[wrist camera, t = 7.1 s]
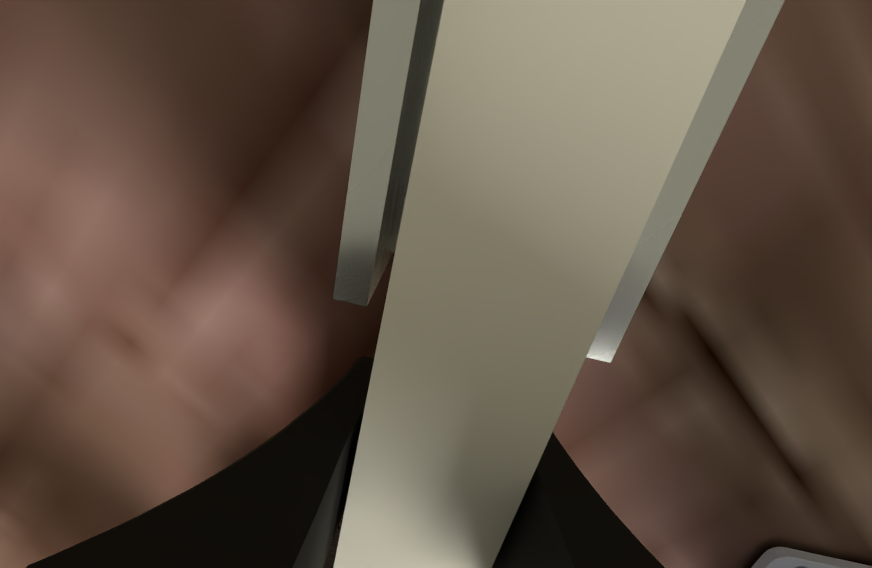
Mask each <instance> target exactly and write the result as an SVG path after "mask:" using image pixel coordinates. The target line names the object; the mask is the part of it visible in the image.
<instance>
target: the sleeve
mask: <svg viewBox="0 0 872 568" xmlns="http://www.w3.org/2000/svg"><path fill="white" fill-rule="evenodd" d="M784 1H785V0H746V2H745V4H744V6H743V8H742V11H741V13H740V15H739V17H738V20H737V22H736V24H735V26H734V28H733V31H732V33H731V35H730V37H729V40H728V42H727V44H726V46H725V49H724V51H723V53H722V55H721V57H720V60H719V62H718V64H717V66H716V69H715V71H714V73H713V75H712V78H711V80H710V82H709V84H708V86H707V89H706V91H705V93H704V95H703V98H702V100H701V102H700V104H699V106H698V109H697V111H696V113H695V115H694V118H693V120H692V122H691V124H690V127H689V129H688V131H687V133H686V135H685V138H684V140H683V142H682V144H681V147H680V149H679V151H678V153H677V156H676V158H675V160H674V162H673V164H672V167H671V169H670V171H669V173H668V176H667V178H666V180H665V182H664V184H663V187H662V189H661V191H660V193H659V196H658V198H657V200H656V202H655V205H654V207H653V209H652V211H651V213H650V216H649V218H648V220H647V222H646V225H645V227H644V229H643V231H642V234H641V236H640V238H639V240H638V242H637V245H636V247H635V249H634V251H633V254H632V256H631V258H630V260H629V262H628V265H627V267H626V269H625V271H624V274H623V276H622V278H621V280H620V283H619V285H618V287H617V289H616V291H615V294H614V296H613V298H612V300H611V303H610V305H609V307H608V309H607V312H606V314H605V316H604V318H603V320H602V323H601V325H600V327H599V329H598V332H597V334H596V336H595V338H594V340H593V343H592V345H591V347H590V349H589V352H588V354H587V356H586V357H588V358H592V359H596V360H601V361H605V362H609V363H611V361H612V358H613V356H614V354H615V352H616V350H617V348H618V346H619V344H620V342H621V340H622V338H623V336H624V334H625V331H626V329H627V327H628V325H629V323H630V321H631V319H632V317H633V315H634V313H635V311H636V309H637V307H638V304H639V302H640V300H641V298H642V296H643V294H644V292H645V290H646V288H647V286H648V284H649V282H650V280H651V277H652V275H653V273H654V271H655V269H656V267H657V265H658V263H659V261H660V259H661V257H662V255H663V252H664V250H665V248H666V246H667V244H668V242H669V240H670V238H671V236H672V234H673V232H674V230H675V228H676V225H677V223H678V221H679V219H680V217H681V215H682V213H683V211H684V209H685V207H686V205H687V203H688V201H689V198H690V196H691V194H692V192H693V190H694V188H695V186H696V184H697V182H698V180H699V178H700V176H701V174H702V171H703V169H704V167H705V165H706V163H707V161H708V159H709V157H710V155H711V153H712V151H713V149H714V147H715V144H716V142H717V140H718V138H719V136H720V134H721V132H722V130H723V128H724V126H725V124H726V122H727V119H728V117H729V115H730V113H731V111H732V109H733V107H734V105H735V103H736V101H737V99H738V97H739V95H740V92H741V90H742V88H743V86H744V84H745V82H746V80H747V78H748V76H749V74H750V72H751V70H752V68H753V65H754V63H755V61H756V59H757V57H758V55H759V53H760V51H761V49H762V47H763V45H764V43H765V41H766V38H767V36H768V34H769V32H770V30H771V28H772V26H773V24H774V22H775V20H776V18H777V16H778V14H779V11H780V9H781V7H782V5H783V3H784ZM443 4H444V0H373V6H372V14H371V21H370V28H369V36H368V43H367V50H366V58H365V65H364V73H363V80H362V87H361V95H360V102H359V109H358V117H357V124H356V131H355V139H354V146H353V154H352V161H351V168H350V176H349V183H348V190H347V198H346V205H345V212H344V220H343V227H342V235H341V242H340V249H339V257H338V264H337V271H336V279H335V286H334V293H333V299H336V300H340V301H344V302H349V303H353V304H357V305H362V306H366V307H367V305H368V303H369V301H370V299H371V297H372V295H373V293H374V291H375V289H376V287H377V285H378V283H379V281H380V279H381V277H382V275H383V273H384V271H385V269H386V267H387V265H388V263H389V261H390V259H391V257H392V255H393V253H394V252H395V250H396V245H397V240H398V234H399V229H400V224H401V219H402V214H403V209H404V204H405V199H406V194H407V188H408V183H409V178H410V173H411V168H412V163H413V158H414V153H415V147H416V142H417V137H418V132H419V127H420V122H421V117H422V112H423V106H424V101H425V96H426V91H427V86H428V81H429V76H430V71H431V66H432V60H433V55H434V50H435V45H436V40H437V35H438V30H439V25H440V19H441V14H442V9H443Z"/></svg>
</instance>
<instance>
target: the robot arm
mask: <svg viewBox="0 0 872 568" xmlns="http://www.w3.org/2000/svg"><path fill="white" fill-rule="evenodd" d="M373 362H374V359H373V358H369V357H364V356H362V357H361V358H359V359H357V361H356V362H355V363H354V364H353V366H352V367H351V368H350V369H349V370H348V371H347V372H346V373H345V374H344V375H343V376H342V377H341V379H340V380H339V381H338V382H337V383H336V384H335V385H334V386H333V387H331V388H330V389H329V390H328V391H327V392H326V393H325V394H324V395H323V396H322V397H321V398H320V399H318V400H317V401H316V402H315V403H314V404H313V405H312V406H311V407H310V408H308V409H307V410H306V411H305V412H303V413H302V414H301V415H300V416H298V417H297V418H296V419H295V420H294V421H292V422H291V423H290V424H289V425H287V426H286V427H285V428H284V429H282V430H281V431H280V432H278V433H277V434H276V435H274V436H273V437H272V438H270V439H269V440H267V441H266V442H265V443H263V444H262V445H260V446H259V447H257V448H256V449H254V450H253V451H251V452H250V453H249V454H247V455H246V456H244V457H242V458H241V459H239V460H238V461H236V462H234V463H233V464H231V465H230V466H228V467H226V468H225V469H223V470H222V471H220V472H218V473H217V474H215V475H213V476H212V477H210V478H208V479H207V480H205V481H203V482H201V483H200V484H198V485H196V486H194V487H193V488H191V489H189V490H187V491H185V492H183V493H181V494H179V495H177V496H176V497H174V498H172V499H170V500H168V501H166V502H164V503H162V504H160V505H158V506H157V507H155V508H153V509H151V510H149V511H147V512H145V513H143V514H141V515H139V516H137V517H135V518H133V519H131V520H129V521H127V522H125V523H123V524H121V525H119V526H117V527H114V528H112V529H110V530H108V531H106V532H103V533H101V534H99V535H97V536H94V537H92V538H90V539H88V540H85V541H83V542H81V543H79V544H76V545H74V546H72V547H70V548H68V549H65V550H63V551H61V552H59V553H56V554H54V555H52V556H50V557H47V558H45V559H42V560H40V561H38V562H35V563H33V564H30V565H28V566H27V567H26V568H323V566H324V563H325V560H326V557H327V555H328V552H329V549H330V546H331V544H332V541H333V538H334V536H335V533H336V530H337V528H338V525H339V523H340V520H341V517H342V515H343V512H344V510H345V506H346V501H347V496H348V490H349V485H350V480H351V475H352V470H353V465H354V460H355V455H356V450H357V444H358V439H359V434H360V429H361V424H362V419H363V414H364V409H365V403H366V398H367V393H368V388H369V383H370V378H371V373H372V368H373ZM492 568H665V567H664V566H663V565H662V564H661V563H660V562H659V561H658V560H657V559H656V558H655V557H654V556H653V555H652V554H651V553H650V552H649V551H648V550H647V549H646V548H645V547H644V546H643V545H642V544H641V543H640V541H639V540H638V539H637V538H636V537H635V536H634V535H633V534H632V533H631V531H630V530H629V529H628V528H627V527H626V526H625V525H624V524H623V523H622V521H621V520H620V519H619V518H618V517H617V516H616V515H615V514H614V512H613V511H612V510H611V509H610V508H609V506H608V505H607V504H606V503H605V502H604V501H603V499H602V498H601V497H600V496H599V494H598V493H597V492H596V490H595V489H594V488H593V487H592V485H591V484H590V483H589V482H588V480H587V479H586V478H585V477H584V475H583V474H582V473H581V471H580V470H579V469H578V467H577V466H576V465H575V463H574V462H573V460H572V459H571V458H570V456H569V455H568V454H567V452H566V451H565V449H564V448H563V446H562V445H561V444H560V442H559V441H558V439H557V438H556V436H555V435H554V433H553V432H552V434H551V436H550V439H549V441H548V443H547V445H546V447H545V450H544V452H543V454H542V456H541V459H540V461H539V463H538V465H537V468H536V470H535V472H534V474H533V476H532V479H531V481H530V483H529V485H528V488H527V490H526V492H525V494H524V496H523V499H522V501H521V503H520V505H519V508H518V510H517V512H516V514H515V517H514V519H513V521H512V523H511V525H510V528H509V530H508V532H507V534H506V537H505V539H504V541H503V543H502V546H501V548H500V550H499V552H498V554H497V557H496V559H495V561H494V563H493V566H492ZM751 568H872V566H869V565H864V564H860V563H855V562H851V561H846V560H841V559H837V558H832V557H828V556H823V555H818V554H814V553H809V552H805V551H800V550H796V549H791V548H786V547H773V548H771V549H768V550H767V551H766V552H764V553H763V554H762V556H761V557H760V558H759V559H758V560H757V561H756V563H755V564H754V565H753V566H752V567H751Z"/></svg>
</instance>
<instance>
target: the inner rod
mask: <svg viewBox="0 0 872 568" xmlns="http://www.w3.org/2000/svg"><path fill="white" fill-rule="evenodd" d="M745 2H746V0H444V4H443V9H442V14H441V19H440V25H439V30H438V35H437V40H436V45H435V50H434V55H433V60H432V66H431V71H430V76H429V81H428V86H427V91H426V96H425V101H424V106H423V112H422V117H421V122H420V127H419V132H418V137H417V142H416V147H415V153H414V158H413V163H412V168H411V173H410V178H409V183H408V188H407V194H406V199H405V204H404V209H403V214H402V219H401V224H400V229H399V234H398V240H397V245H396V250H395V255H394V260H393V265H392V270H391V275H390V281H389V286H388V291H387V296H386V301H385V306H384V311H383V316H382V322H381V327H380V332H379V337H378V342H377V347H376V352H375V357H374V362H373V368H372V373H371V378H370V383H369V388H368V393H367V398H366V403H365V409H364V414H363V419H362V424H361V429H360V434H359V439H358V444H357V450H356V455H355V460H354V465H353V470H352V475H351V480H350V485H349V490H348V496H347V501H346V506H345V511H344V516H343V521H342V526H341V531H340V537H339V542H338V547H337V552H336V557H335V562H334V567H333V568H492V566H493V563H494V561H495V559H496V557H497V554H498V552H499V550H500V548H501V546H502V543H503V541H504V539H505V537H506V534H507V532H508V530H509V528H510V525H511V523H512V521H513V519H514V517H515V514H516V512H517V510H518V508H519V505H520V503H521V501H522V499H523V496H524V494H525V492H526V490H527V488H528V485H529V483H530V481H531V479H532V476H533V474H534V472H535V470H536V468H537V465H538V463H539V461H540V459H541V456H542V454H543V452H544V450H545V447H546V445H547V443H548V441H549V439H550V436H551V434H552V432H553V430H554V427H555V425H556V423H557V421H558V418H559V416H560V414H561V412H562V410H563V407H564V405H565V403H566V401H567V398H568V396H569V394H570V392H571V390H572V387H573V385H574V383H575V381H576V378H577V376H578V374H579V372H580V369H581V367H582V365H583V363H584V361H585V358H586V356H587V354H588V352H589V349H590V347H591V345H592V343H593V340H594V338H595V336H596V334H597V332H598V329H599V327H600V325H601V323H602V320H603V318H604V316H605V314H606V312H607V309H608V307H609V305H610V303H611V300H612V298H613V296H614V294H615V291H616V289H617V287H618V285H619V283H620V280H621V278H622V276H623V274H624V271H625V269H626V267H627V265H628V262H629V260H630V258H631V256H632V254H633V251H634V249H635V247H636V245H637V242H638V240H639V238H640V236H641V234H642V231H643V229H644V227H645V225H646V222H647V220H648V218H649V216H650V213H651V211H652V209H653V207H654V205H655V202H656V200H657V198H658V196H659V193H660V191H661V189H662V187H663V184H664V182H665V180H666V178H667V176H668V173H669V171H670V169H671V167H672V164H673V162H674V160H675V158H676V156H677V153H678V151H679V149H680V147H681V144H682V142H683V140H684V138H685V135H686V133H687V131H688V129H689V127H690V124H691V122H692V120H693V118H694V115H695V113H696V111H697V109H698V106H699V104H700V102H701V100H702V98H703V95H704V93H705V91H706V89H707V86H708V84H709V82H710V80H711V78H712V75H713V73H714V71H715V69H716V66H717V64H718V62H719V60H720V57H721V55H722V53H723V51H724V49H725V46H726V44H727V42H728V40H729V37H730V35H731V33H732V31H733V28H734V26H735V24H736V22H737V20H738V17H739V15H740V13H741V11H742V8H743V6H744V4H745Z"/></svg>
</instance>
